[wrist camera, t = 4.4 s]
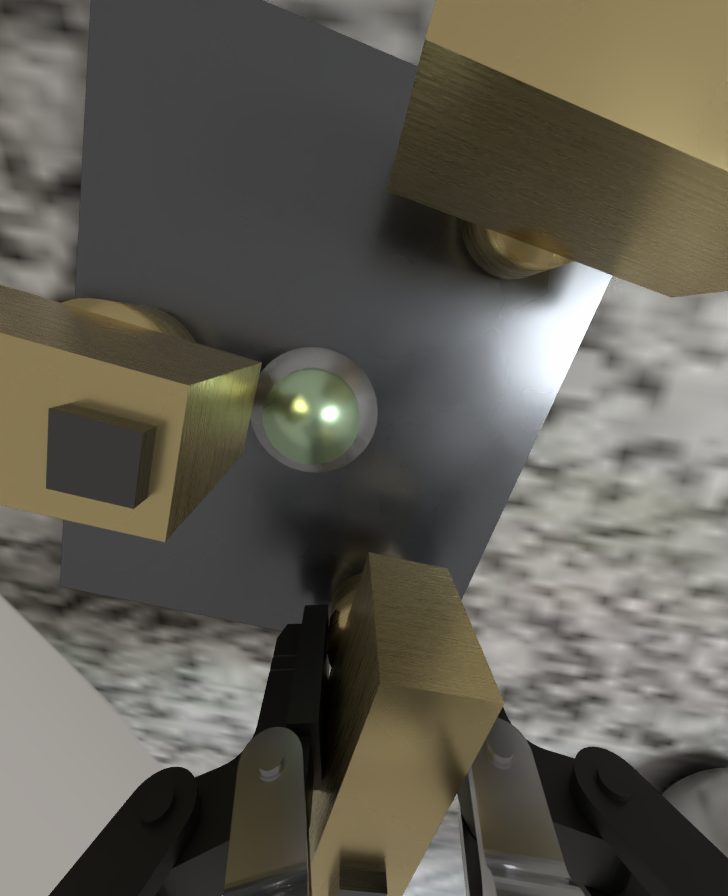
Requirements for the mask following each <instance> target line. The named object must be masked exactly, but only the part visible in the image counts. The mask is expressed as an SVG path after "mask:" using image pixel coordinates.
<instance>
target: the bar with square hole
mask: <svg viewBox="0 0 728 896" xmlns="http://www.w3.org/2000/svg"><path fill="white" fill-rule="evenodd" d="M261 364H262V362H258V361H255V360H252V359H248V358H245V357H242V356H238V355H235V354H231V353H228V352H225V351H221V350H218V349H214V348H211V347H208V346H204V345H201V344H198V343H196V342H195V340H194V338H193V337H192V335H191V334H190V332H189V331H188V330H187V329H186V328H185V327H184V326H183V324H181V323H180V322H179V321H178V320H177V319H176V318H174V317H173V316H171V315H170V314H168V313H166V312H164V311H162V310H159V309H157V308H153V307H149V306H144V305H137V304H130V303H123V302H115V301H108V300H101V299H93V298H78V299H72V300H68V301H65V302H62V303H59V302H56V301H52V300H49V299H46V298H42V297H39V296H35V295H32V294H29V293H25V292H22V291H18V290H15V289H12V288H8V287H5V286H2V285H0V505H1V506H6V507H10V508H15V509H19V510H24V511H28V512H32V513H37V514H41V515H46V516H50V517H55V518H59V519H64V520H68V521H73V522H77V523H82V524H86V525H91V526H95V527H100V528H104V529H108V530H113V531H117V532H122V533H126V534H131V535H135V536H140V537H144V538H149V539H153V540H158V541H162V542H166V541H167V540H168V539H169V537H170V536H171V535H172V534H173V533H174V532H175V531H176V529H177V528H178V527H179V526H180V525H181V524H182V523H183V522H184V520H185V519H186V518H187V517H188V516H189V515H190V514H191V513H192V511H193V510H194V509H195V508H196V507H197V506H198V505H199V504H200V502H201V501H202V500H203V499H204V498H205V497H206V496H207V495H208V493H209V492H210V491H211V490H212V489H213V488H214V487H215V486H216V484H217V483H218V482H219V481H220V480H221V479H222V478H223V477H224V475H225V474H226V473H227V472H228V471H229V470H230V469H231V468H232V466H233V465H234V464H235V463H236V462H237V461H238V460H239V459H240V457H241V456H242V455H243V450H244V445H245V440H246V436H247V431H248V426H249V421H250V417H251V412H252V407H253V402H254V397H255V393H256V388H257V383H258V378H259V374H260V369H261Z"/></svg>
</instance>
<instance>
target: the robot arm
mask: <svg viewBox="0 0 728 896" xmlns="http://www.w3.org/2000/svg"><path fill="white" fill-rule="evenodd" d="M328 635H329V613H328V604H326V605H305V607H304V613H303V619H302V623H301V624H287V625H286V627H285V628H284V629H283V631H282V632H281V634H280V635H279V637H278V638H277V642H276V646H275V650H274V657H273V659H272V663H271V668H270V672H269V677H268V681H267V685H266V690H265V694H264V698H263V703H262V707H261V711H260V716H259V720H258V724H257V728H256V731H255V733H254V736H253V738H252V739H251V741H250V742H249V743H248V744H247V746H246V747H245V749H244V750H243V751H242V752H241V753H240V754H239V755H238V756H237V757H236V758H235V759H233V760H232V761H230V762H229V763H227V764H225V765H223V766H221V767H219V768H217V769H214V770H212V771H209V772H207V773H205V774H202V775H200V776H198V777H195V778H194V776H193V775H192V773H191V772H190V771H188V770H187V769H185V768H182V767H170V768H166V769H163V770H161V771H159V772H157V773H155V774H154V775H152V776H151V777H150V778H148V779H147V780H145V781H144V782H143V783H142V784H141V785H140V786H139V787H138V788H137V789H136V790H135V791H134V793H133V794H132V795H131V796H130V797H129V799H128V800H127V801H126V803H124V805H123V806H122V807H121V808H120V810H119V811H118V812H117V813H116V814H115V816H114V817H113V818H112V819H111V821H110V822H109V823H108V824H107V825H106V827H105V828H104V829H103V830H102V831H101V833H100V834H99V835H98V836H97V838H96V839H95V840H94V841H93V842H92V844H91V845H90V846H89V847H88V849H87V850H86V851H85V852H84V853H83V855H82V856H81V857H80V858H79V859H78V861H77V862H76V863H75V864H74V865H73V867H72V868H71V869H70V871H69V872H68V873H67V874H66V875H65V876H64V878H63V879H62V880H61V881H60V883H59V884H58V885H57V886H56V887H55V889H54V890H53V891H52V892H51V893H50V895H49V896H222V895H223V896H312V876H311V855H310V834H309V828H310V822H311V811H312V798H313V791H315V790H319V789H320V786H321V783H322V775H323V757H324V740H325V723H326V706H327V689H328V678H329V664H330V663H329V660H328V655H327V650H328ZM457 795H458V799H459V803H460V804H459V812H458V820H459V830H460V840H461V849H462V859H463V869H464V879H465V889H466V896H728V858H727V857H726V856H725V855H724V854H723V853H722V852H721V851H720V850H719V849H718V848H717V847H716V846H715V845H714V844H713V843H712V842H711V841H710V840H709V839H707V838H706V837H705V836H704V835H703V834H702V833H701V832H700V831H699V830H698V829H697V828H696V827H695V826H694V825H693V824H692V823H691V822H690V821H689V820H688V819H686V818H685V817H684V816H683V815H682V814H681V813H680V812H679V811H678V810H677V809H676V808H675V807H674V806H673V805H672V804H671V803H670V802H669V801H668V800H667V799H665V798H664V797H663V796H662V795H661V794H660V793H659V792H658V791H657V790H656V789H655V788H654V787H653V786H652V785H651V784H650V783H649V782H648V781H647V780H646V779H645V778H643V777H642V776H641V775H640V774H639V773H638V772H637V771H636V770H635V769H634V768H633V767H632V766H631V765H630V764H628V763H627V762H626V761H625V760H624V759H622V758H621V757H619V756H618V755H616V754H614V753H613V752H610V751H608V750H606V749H603V748H599V747H587V748H584V749H582V750H580V751H579V752H578V754H577V755H576V758H575V759H574V758H571V757H568V756H565V755H561V754H558V753H555V752H552V751H548V750H545V749H543V748H540V747H538V746H536V745H534V744H532V743H531V742H529V741H528V740H526V739H525V737H524V736H523V735H522V734H521V732H520V731H519V730H518V729H517V728H516V727H514V726H513V725H512V724H511V722H510V721H509V719H508V717H507V715H506V713H505V711H504V708H503V707H502V709H501V711H500V713H499V715H498V717H497V718H496V720H495V722H494V724H493V726H492V728H491V730H490V732H489V734H488V735H487V737H486V739H485V741H484V743H483V745H482V747H481V749H480V750H479V752H478V754H477V756H476V758H475V760H474V762H473V764H472V765H471V767H470V769H469V771H468V773H467V775H466V777H465V779H464V780H463V782H462V784H461V786H460V788H459V790H458V792H457Z"/></svg>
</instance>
